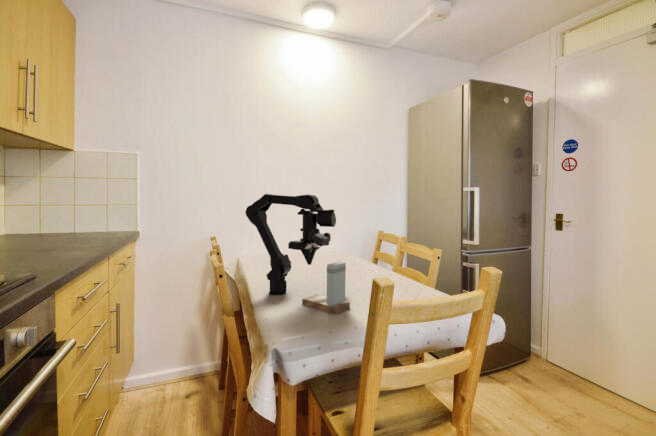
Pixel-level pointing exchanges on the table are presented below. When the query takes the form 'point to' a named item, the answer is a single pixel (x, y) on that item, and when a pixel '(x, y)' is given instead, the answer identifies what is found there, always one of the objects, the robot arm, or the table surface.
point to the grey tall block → (336, 283)
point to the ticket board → (325, 304)
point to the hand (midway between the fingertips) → (309, 264)
